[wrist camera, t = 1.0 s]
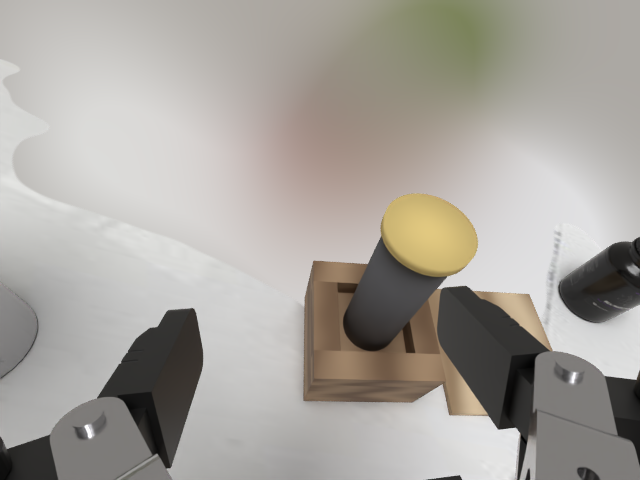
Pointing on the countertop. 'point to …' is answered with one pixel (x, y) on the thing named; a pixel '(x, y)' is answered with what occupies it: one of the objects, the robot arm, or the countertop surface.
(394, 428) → the countertop surface
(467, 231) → the plug
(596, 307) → the supplement bottle
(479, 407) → the cork mat
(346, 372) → the socket block
